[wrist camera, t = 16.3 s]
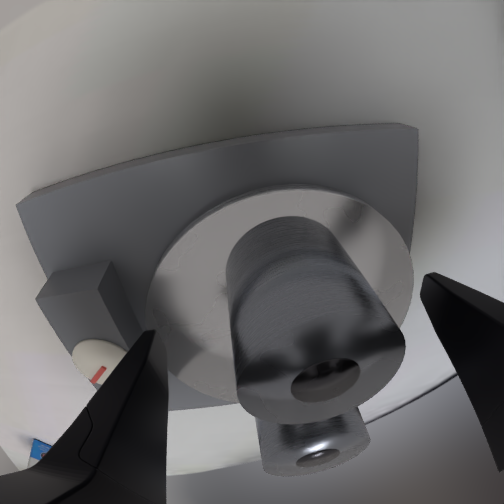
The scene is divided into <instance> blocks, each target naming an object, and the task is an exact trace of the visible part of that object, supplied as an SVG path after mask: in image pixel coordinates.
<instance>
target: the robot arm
mask: <svg viewBox="0 0 504 504" xmlns="http://www.w3.org/2000/svg"><path fill="white" fill-rule="evenodd" d="M420 298H421V301H422V303H423V305H424V307H425V309H426V312H427V314H428V316H429V318H430V321H431V323H432V325H433V327H434V330H435V332H436V334H437V336H438V338H439V340H440V341H441V343H442V345H443V347H444V349H445V351H446V353H447V354H448V356H449V358H450V360H451V362H452V364H453V366H454V368H455V370H456V372H457V374H458V376H459V378H460V379H461V382H462V384H463V386H464V388H465V390H466V392H467V395H468V397H469V399H470V401H471V403H472V405H473V408H474V410H475V412H476V415H477V417H478V419H479V421H480V424H481V426H482V429H483V432H484V434H485V437H486V439H487V442H488V444H489V447H490V449H491V452H492V455H493V458H494V460H495V463H496V466H497V469H498V471H499V472H501V471H502V470H504V303H503V302H501V301H499V300H497V299H494V298H492V297H490V296H488V295H486V294H484V293H481V292H479V291H477V290H475V289H472V288H470V287H468V286H466V285H464V284H461V283H459V282H457V281H454V280H452V279H450V278H448V277H445V276H443V275H441V274H438V273H436V272H432V273H429V274H426V275H425V276H424V278H423V283H422V287H421V292H420ZM168 404H169V385H168V367H167V350H166V347H165V345H164V342H163V340H162V338H161V336H160V334H159V332H158V331H157V330H155V329H153V330H146V331H144V332H143V333H142V334H141V336H140V337H139V338H138V339H137V341H136V342H135V343H134V344H133V346H132V347H131V348H130V349H129V351H128V352H127V353H126V354H125V356H124V357H123V358H122V360H121V361H120V362H119V363H118V365H117V366H116V367H115V369H114V370H113V371H112V372H111V374H110V375H109V376H108V378H107V379H106V380H105V381H104V383H103V384H102V385H101V387H100V388H99V389H98V391H97V392H96V393H95V395H94V396H93V397H92V398H91V400H90V401H89V402H88V404H87V407H85V408H84V409H83V410H82V412H81V413H80V414H79V416H78V417H77V418H76V419H75V421H74V422H73V423H72V424H71V426H70V427H69V428H68V429H67V430H66V431H65V433H64V434H63V435H62V436H61V437H60V438H59V439H58V441H57V442H56V443H55V444H54V445H53V446H52V447H51V448H50V449H49V450H48V452H47V453H46V454H45V455H44V456H43V457H42V458H41V459H40V460H39V461H38V462H37V463H36V464H35V465H33V466H32V467H30V468H28V469H25V470H22V471H18V472H14V473H10V474H6V475H1V476H0V504H166V455H167V424H168ZM503 504H504V503H503Z"/></svg>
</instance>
